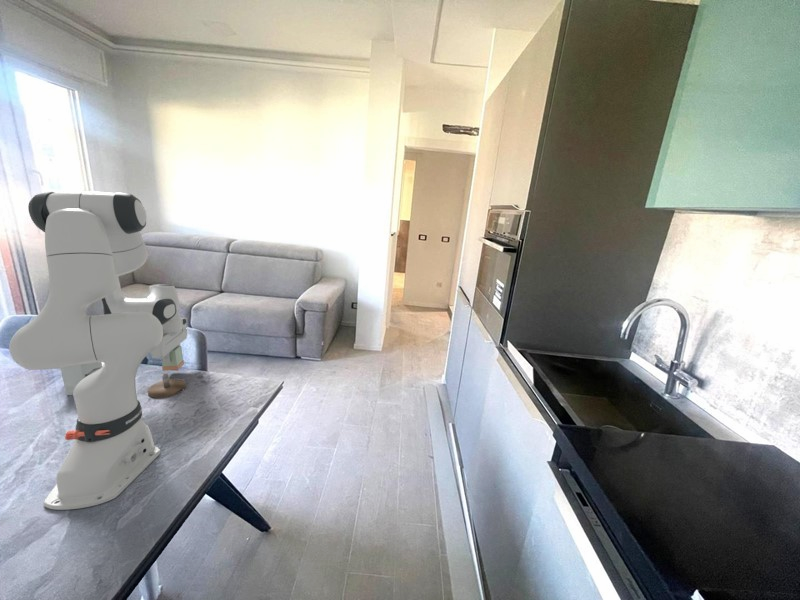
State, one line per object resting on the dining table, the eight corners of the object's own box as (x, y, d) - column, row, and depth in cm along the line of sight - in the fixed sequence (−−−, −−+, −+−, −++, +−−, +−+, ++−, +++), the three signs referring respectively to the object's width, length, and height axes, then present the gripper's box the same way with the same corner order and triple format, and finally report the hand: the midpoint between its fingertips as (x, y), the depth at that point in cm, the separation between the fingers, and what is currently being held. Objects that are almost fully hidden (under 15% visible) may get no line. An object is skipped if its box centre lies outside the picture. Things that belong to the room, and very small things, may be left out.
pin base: (177, 397, 111) (175, 381, 109) (141, 398, 108) (138, 382, 107) (190, 381, 121) (189, 366, 119) (158, 382, 119) (155, 367, 117)
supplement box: (87, 396, 108) (79, 362, 105) (65, 395, 108) (57, 361, 105) (107, 385, 115) (100, 353, 112) (86, 384, 115) (79, 352, 112)
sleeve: (178, 370, 123) (175, 351, 120) (162, 371, 121) (159, 351, 119) (184, 364, 128) (182, 345, 126) (169, 364, 127) (166, 346, 125)
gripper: (162, 335, 111) (168, 371, 114) (188, 317, 130) (192, 348, 134) (142, 335, 110) (148, 371, 113) (171, 317, 129) (175, 348, 133)
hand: (172, 359), depth 124 cm, fingers closed on sleeve, 5 cm apart
